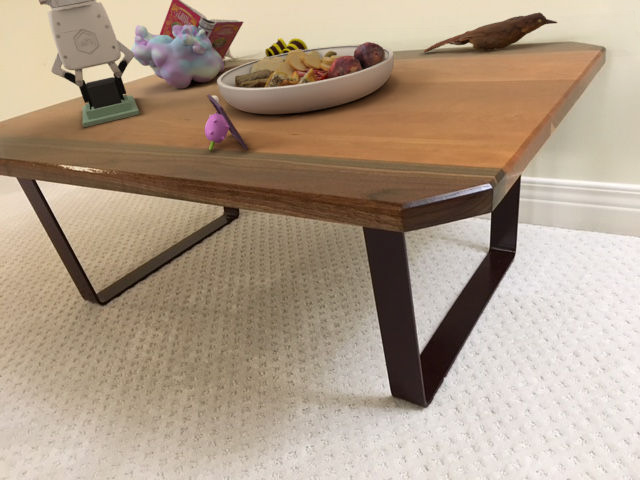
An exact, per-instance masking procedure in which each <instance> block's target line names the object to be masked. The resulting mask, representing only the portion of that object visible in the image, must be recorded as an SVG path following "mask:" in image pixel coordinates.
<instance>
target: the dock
mask: <svg viewBox="0 0 640 480" xmlns="http://www.w3.org/2000/svg"><path fill="white" fill-rule="evenodd" d="M123 97H124V100H121V102H122V103H119V104H114V105H110V106H105V107H101V108H97V109H94V107H90V105H89V102H88V103H85V105H82V127H83V128H87V127H91V126H97V125H100V124H104V123H110V122H114V121H117V120H121V119H122V120H123V119H125V118H129V117H130V118H131V117H135V116H139V115H140V114H141V113H140V111H139V108H138V105H137V103H136V100H135V98H134V96H133V95H132V94H130V95H127V94H123Z"/></svg>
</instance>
